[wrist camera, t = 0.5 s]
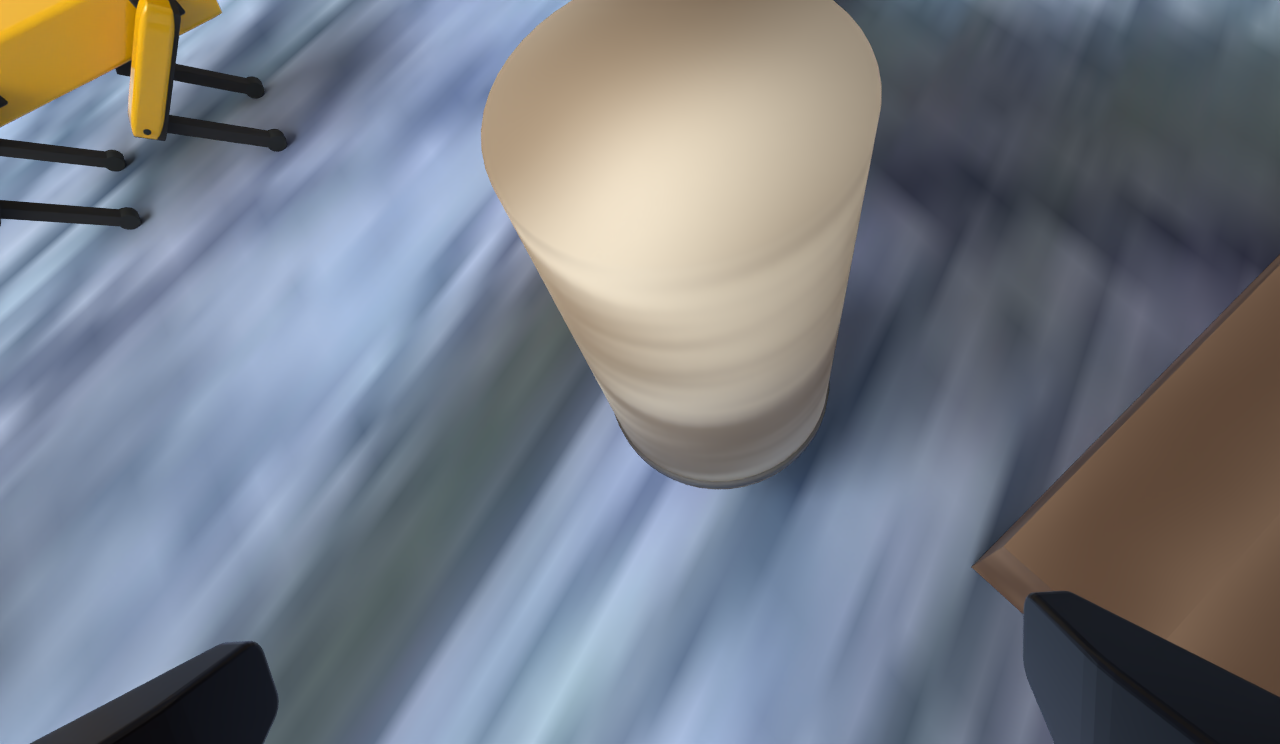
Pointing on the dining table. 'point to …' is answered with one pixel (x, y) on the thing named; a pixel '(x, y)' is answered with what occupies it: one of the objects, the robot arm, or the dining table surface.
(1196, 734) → the robot arm
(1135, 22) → the dining table surface
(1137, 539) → the walnut board
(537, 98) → the maple leg
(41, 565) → the dining table surface
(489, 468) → the dining table surface
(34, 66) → the robot dog
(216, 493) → the dining table surface
